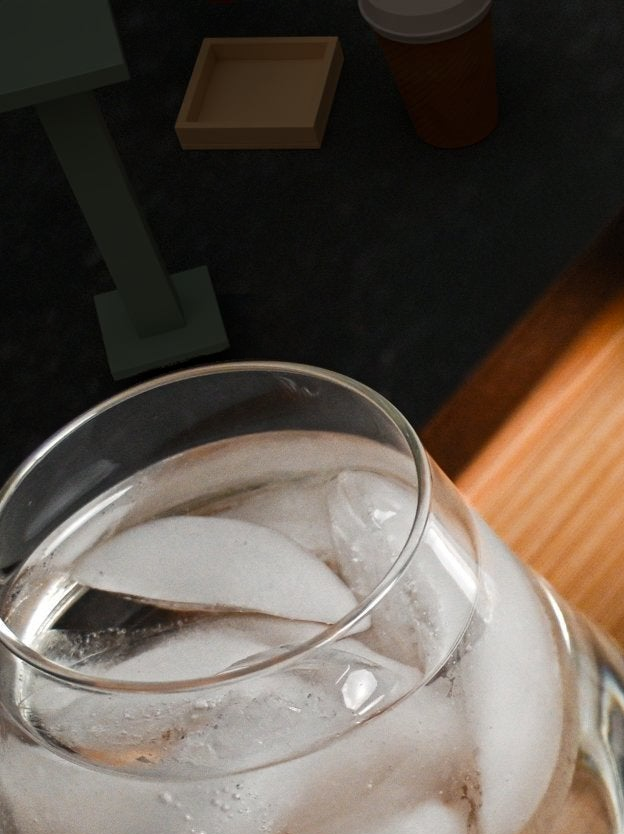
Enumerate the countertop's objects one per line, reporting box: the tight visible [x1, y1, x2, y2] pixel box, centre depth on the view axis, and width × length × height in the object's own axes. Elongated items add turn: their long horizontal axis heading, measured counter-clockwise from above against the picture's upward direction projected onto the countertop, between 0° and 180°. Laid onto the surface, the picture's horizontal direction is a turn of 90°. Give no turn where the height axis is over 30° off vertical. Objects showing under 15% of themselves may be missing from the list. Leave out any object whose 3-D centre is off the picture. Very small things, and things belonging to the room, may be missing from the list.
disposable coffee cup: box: [357, 0, 500, 149], centre depth 138 cm, size 10×10×12 cm
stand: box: [0, 0, 231, 382], centre depth 123 cm, size 9×9×23 cm
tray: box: [174, 36, 345, 151], centre depth 144 cm, size 10×10×2 cm
